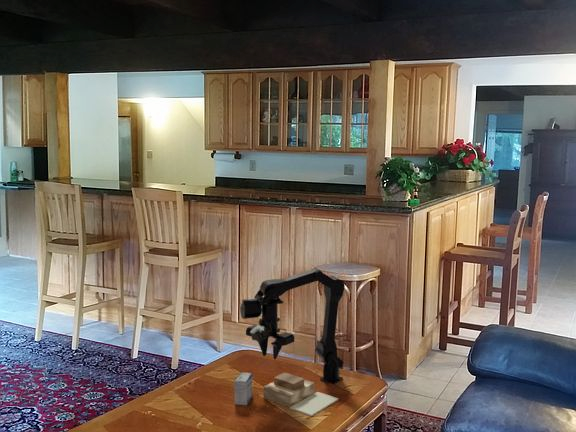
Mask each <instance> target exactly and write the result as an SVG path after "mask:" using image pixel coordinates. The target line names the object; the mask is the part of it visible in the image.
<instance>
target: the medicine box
mask: <svg viewBox="0 0 576 432" xmlns="http://www.w3.org/2000/svg"><path fill="white" fill-rule="evenodd" d="M233 383H234V386H233V387H234V405H237V406H238V405H241V406H247V405H248V404H249V402H250V401H251V400H252V398H253V373H251V372H240V373H239V375H238V376H237V378H236V379H235V380H234V382H233Z"/></svg>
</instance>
